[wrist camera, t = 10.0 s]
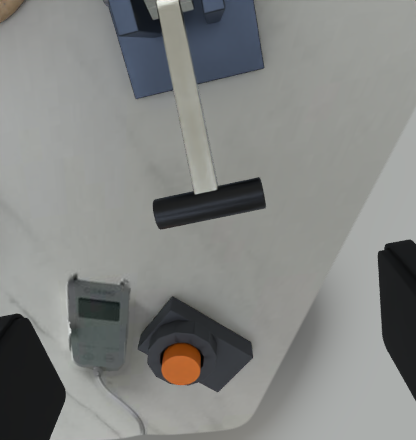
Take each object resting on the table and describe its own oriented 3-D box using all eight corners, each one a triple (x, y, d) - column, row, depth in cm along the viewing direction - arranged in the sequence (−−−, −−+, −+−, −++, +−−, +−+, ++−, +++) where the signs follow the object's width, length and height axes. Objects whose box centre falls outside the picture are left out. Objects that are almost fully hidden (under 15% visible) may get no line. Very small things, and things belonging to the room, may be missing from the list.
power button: (208, 353, 38) (208, 367, 36) (187, 376, 39) (185, 390, 37) (177, 336, 37) (175, 349, 35) (156, 360, 38) (153, 374, 36)
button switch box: (252, 341, 42) (256, 369, 38) (216, 377, 44) (216, 408, 40) (173, 294, 39) (170, 320, 36) (139, 335, 41) (132, 364, 38)
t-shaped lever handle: (264, 208, 19) (267, 207, 17) (165, 229, 20) (154, 230, 17) (211, -53, 19) (205, -91, 17) (114, -26, 20) (96, -60, 18)
